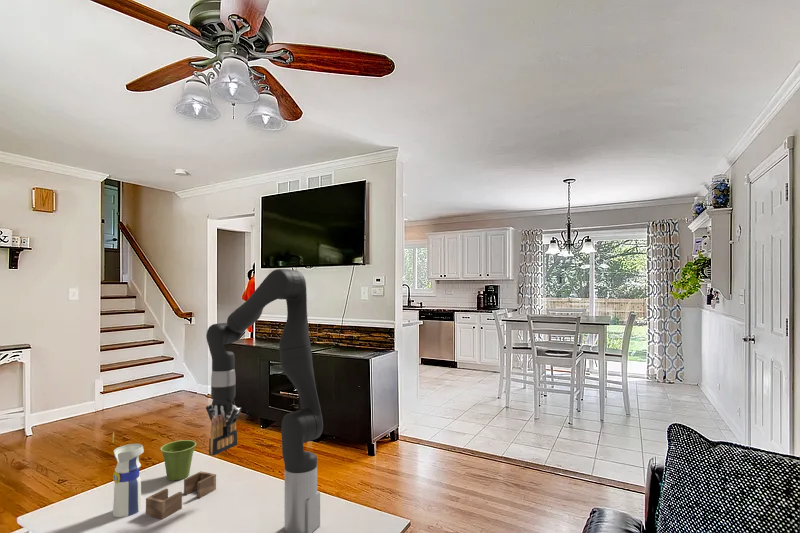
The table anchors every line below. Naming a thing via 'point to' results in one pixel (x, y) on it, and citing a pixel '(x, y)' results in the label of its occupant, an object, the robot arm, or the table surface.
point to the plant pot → (178, 458)
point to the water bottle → (127, 480)
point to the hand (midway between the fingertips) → (223, 436)
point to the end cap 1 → (163, 504)
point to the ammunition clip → (221, 437)
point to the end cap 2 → (200, 483)
